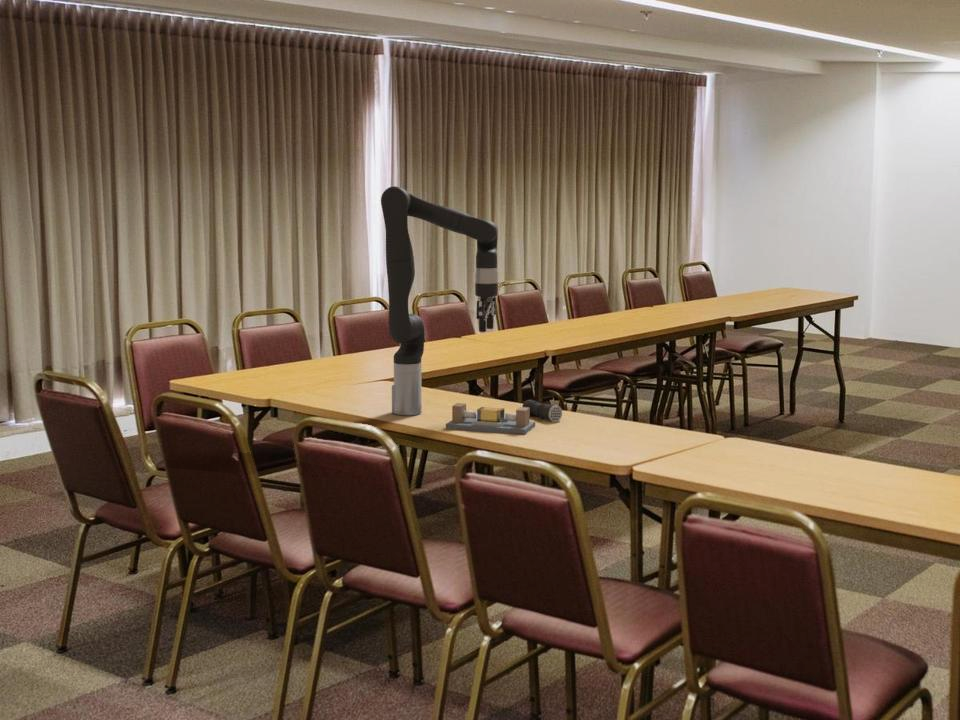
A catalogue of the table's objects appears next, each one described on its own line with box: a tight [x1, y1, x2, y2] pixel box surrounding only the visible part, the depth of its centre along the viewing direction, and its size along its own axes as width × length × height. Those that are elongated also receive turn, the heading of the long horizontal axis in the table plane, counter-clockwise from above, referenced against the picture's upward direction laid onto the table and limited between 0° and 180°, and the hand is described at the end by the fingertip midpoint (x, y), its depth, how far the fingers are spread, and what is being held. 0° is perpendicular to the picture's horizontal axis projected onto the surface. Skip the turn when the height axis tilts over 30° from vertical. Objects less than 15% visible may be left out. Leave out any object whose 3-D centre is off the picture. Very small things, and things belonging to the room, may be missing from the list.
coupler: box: [476, 406, 505, 424], centre depth 365 cm, size 8×4×4 cm, turn 73°
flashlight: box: [522, 399, 563, 423], centre depth 381 cm, size 15×5×5 cm, turn 35°
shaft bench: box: [445, 402, 536, 435], centre depth 365 cm, size 26×12×7 cm, turn 73°
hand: (486, 330), depth 384 cm, fingers open, 8 cm apart
